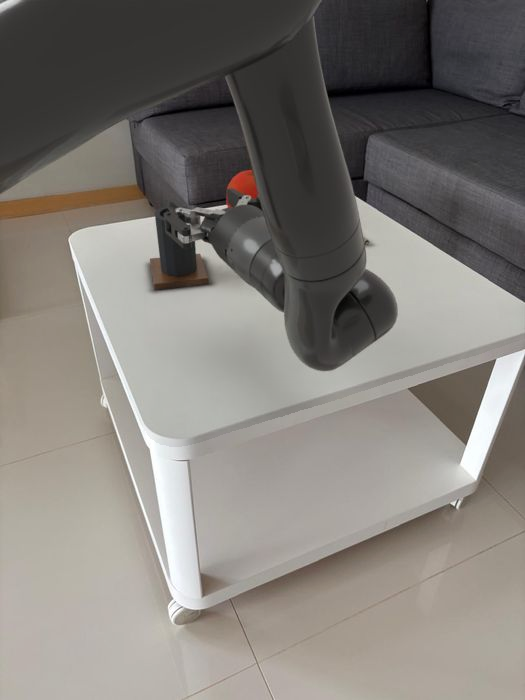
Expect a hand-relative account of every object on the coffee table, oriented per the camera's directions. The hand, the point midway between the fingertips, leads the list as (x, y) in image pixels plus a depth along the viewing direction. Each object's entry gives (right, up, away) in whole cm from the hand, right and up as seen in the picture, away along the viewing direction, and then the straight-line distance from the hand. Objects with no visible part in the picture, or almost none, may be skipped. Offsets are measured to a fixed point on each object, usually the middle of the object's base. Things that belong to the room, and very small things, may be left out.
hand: (200, 200), depth 74 cm
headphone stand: (-6, -7, +20) cm, 22 cm away
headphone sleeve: (-6, -6, +19) cm, 21 cm away
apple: (+6, +5, +37) cm, 38 cm away
